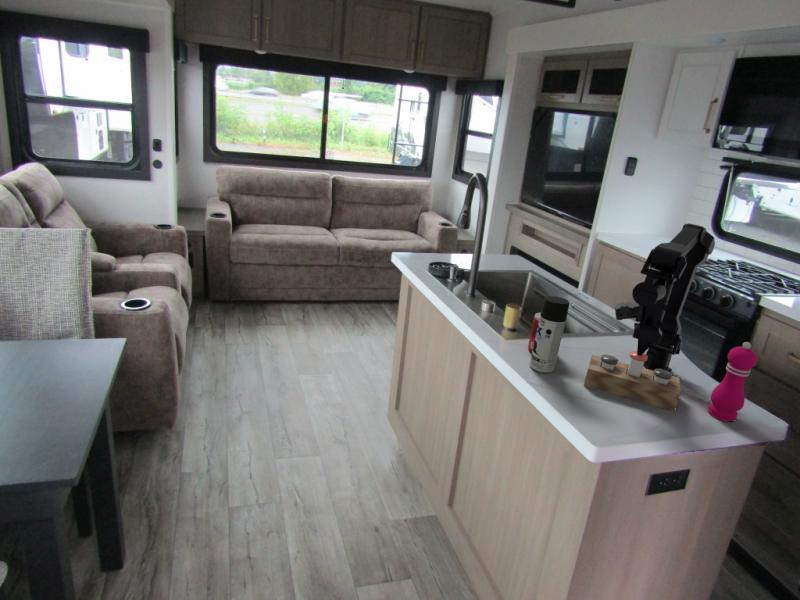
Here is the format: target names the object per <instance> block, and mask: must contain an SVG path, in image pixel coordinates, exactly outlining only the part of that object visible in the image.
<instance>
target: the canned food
mask: <svg viewBox="0 0 800 600" xmlns="http://www.w3.org/2000/svg"><path fill="white" fill-rule="evenodd" d="M540 315H541V312H536V313H535V314H534V317H533V322H532V325H531V331H530V334H529V335H530V336H529V341H528V345H527V350H528V351H529V353H530V354H532V351H533V346H534V342H535V337H536V333H537V328H538V324H539V319H540Z"/></svg>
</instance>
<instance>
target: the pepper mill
mask: <svg viewBox="0 0 800 600" xmlns="http://www.w3.org/2000/svg"><path fill="white" fill-rule="evenodd" d="M751 348H752V344H751V342H748V341H744V342H743V343H742V346H741V345H740V346H735V347H733V348H731V349H729V352H728V353H727V360H728V362H727V364H726V367H725V369H726V374H725V375H724V378H723V379H722V381H721V382H720V383H718V385H717V386H715V387H714V388H713V390H712V392H711V394H710V400H711V401H712V403H710V404H709V406H708V409H707V412H708V413H709V415H711V416H712V417H713V418H716V419H717V418H718V420H720V421H723V420H725V421H724V422H727V421H733V422H735V421H736V420H737V418H738V414H739V412H738V411H741V410H742V409H743V408H744V406H745V401H746V400H745V399H746V398H745V390H744V386H745V385H744V384H745V382H746V381H745V380H746V378H747V377H749V376H750V373H751V369H752V368H754V367H755V366H756V365H757V362H758V356H757V353H756V352H755V351H754V350H752V349H751ZM734 420H735V421H734Z"/></svg>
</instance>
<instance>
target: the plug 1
mask: <svg viewBox="0 0 800 600" xmlns="http://www.w3.org/2000/svg"><path fill="white" fill-rule="evenodd" d="M600 357H601V361H602V365H601V367H603V368H606V369H610V370H613V369H614V365H616V364H617V363H618V362H619V359H618V358H617V357H616V356H613V355H609V354H602V355H601V356H600Z"/></svg>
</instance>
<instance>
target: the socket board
mask: <svg viewBox="0 0 800 600" xmlns="http://www.w3.org/2000/svg"><path fill="white" fill-rule="evenodd" d="M629 364H630V363H625V362H621V361H618V363H617V364H616V365H614V369H613V370H610V369H606V368H603V367H601V365H602V361H601V356H598V355H595V354H592V355H591V357H590V361H589V364H588V367H587V371H586V375H585V379H584V382H583V386H584V387H587V388H591V389H595V390H598V391H601V392H605V393H608V394H612V395H615V396H619V397H622V398H626V399H630V400H633V401H637V402H640V403H643V404H647V405H650V406H654V407H658V408H661V409H664V410H667V411H670V412H676V410H677V407H678V406H677V405H678V403H679V400H680V396H681V393H682V392H681V391H680V385H681V382H680V377H678V376H674V375H672V377H671V379H669V380H668V384H667V385H665V384H661V383H658V382H654V381H653V380H654V377H655V375H654V371H652V370H650V369H649V368H644V367H643V368H642V371H641V375H640V378H639V377H636V376H632V375H628V374H627V371H628V368H629Z"/></svg>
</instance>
